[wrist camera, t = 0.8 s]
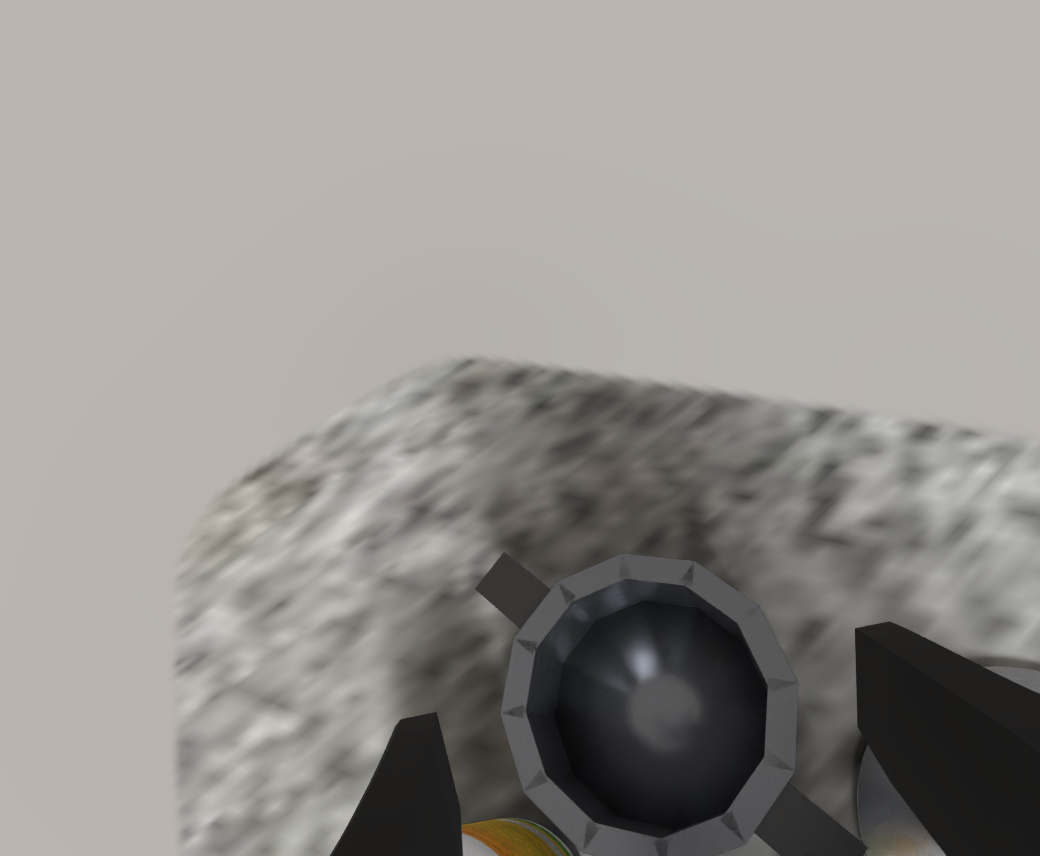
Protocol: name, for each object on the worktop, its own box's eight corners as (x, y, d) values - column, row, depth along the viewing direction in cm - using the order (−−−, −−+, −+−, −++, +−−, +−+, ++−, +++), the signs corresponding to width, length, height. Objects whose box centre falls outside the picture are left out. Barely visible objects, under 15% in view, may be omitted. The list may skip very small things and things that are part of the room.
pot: (918, 740, 22) (943, 733, 19) (757, 985, 21) (753, 1027, 18) (589, 506, 29) (564, 470, 25) (451, 683, 28) (405, 670, 24)
